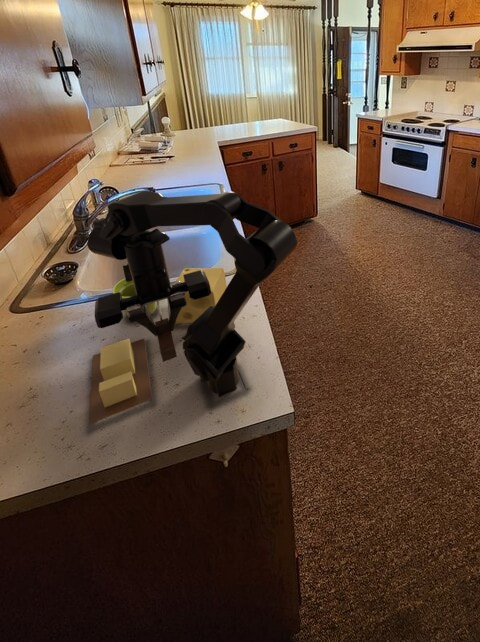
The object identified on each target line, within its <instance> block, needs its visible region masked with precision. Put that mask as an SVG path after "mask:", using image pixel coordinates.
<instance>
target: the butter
mask: <svg viewBox="0 0 480 642" xmlns="http://www.w3.org/2000/svg"><path fill="white" fill-rule="evenodd" d="M131 343H132V342H131V340H130V338H126V339H123V340H120V341H117V342H113V343H111V344H108V345H105V346H102V347H100V353H101V357H100V370H101V373H102V376H103V379H104V381H106V380H109V379H112V378H115V377H117V376H120V375H123V374H126V373H128V372H131V373H132V375H133V374H135V364H134V353H133V349H132V346H131Z"/></svg>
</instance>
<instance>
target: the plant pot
mask: <svg viewBox="0 0 480 642" xmlns="http://www.w3.org/2000/svg"><path fill="white" fill-rule="evenodd" d="M118 292H120V293H121V296H122V299H125V298H129V297H131V296H134V295H137V294H136V291H135V287H134V283H133V281H129V282H126V279H125V277H124V278H123V279H121V280H119V281H118V282H116V284H115V285H114V286H113V288H112V294H114V293H118ZM147 306H148V309H149V311H150V314H151V315H152V314H154V313H155V311H156V310H157V302H153V303H150V304H147ZM124 312H125V314H126V316H127V317H128V312H127V311H126V310H124Z"/></svg>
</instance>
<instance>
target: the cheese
mask: <svg viewBox="0 0 480 642" xmlns="http://www.w3.org/2000/svg"><path fill="white" fill-rule="evenodd" d="M199 270H202V271H204V272H205V274H206V276H207V279H208V281H209V284H210V288H211V294H210V295H209V296H206V297H203V298H199V299H196V300H194V299H192V298H190V296H189V292H185V298H186V302H187V305H186V306H184V307H182V308H181V310H180V312H179V314H178V317H177V320H176V323H175V325H178V324H192V323H193V322H194V321H195V320H196V319H197V318H198V317H199V316H200V315H201V314H203V313H204V312H205V311H206V310H207V309H208V308H209V307H210V306H211V305H212V306H213V307H215V306H216V304H217V302H218V301H219V299H220V297H221V296H222V294H223V293H224V291H225V289H226V288H227V286H228V284H227V279H226V274H225V270H224V267H206V268H205V267H204V268H203V267H202V268H201V267H198V268H195V267H194V268H193V267H185V268H183V270H182V271H181V273H180V274H179V276H178V277H177V279H176V280H175V282H178V281H181V283H182V282H185V281H184V276H183V275H184V274H188V273H192V272H195V271H199Z"/></svg>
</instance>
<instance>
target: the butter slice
mask: <svg viewBox="0 0 480 642" xmlns="http://www.w3.org/2000/svg"><path fill="white" fill-rule="evenodd" d="M99 393H100V396H101V398H102V401H103V404H104V407H108V406H110V405H113V404H115V403H118V402H120V401H123V400H125V399H128V398H131V397H133V396H136V395H137V394H136V386H135V382H134V379H133V376H132V373H131V372H128V373H126V374H123V375H120V376H117V377H115V378H112V379H109V380H106V381H104V382H101V383H99Z"/></svg>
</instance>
